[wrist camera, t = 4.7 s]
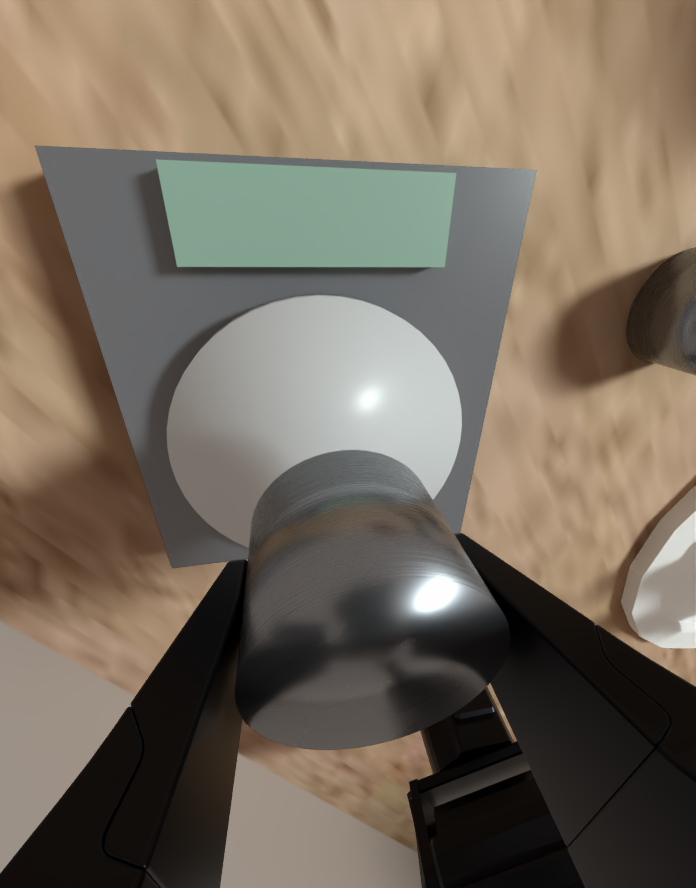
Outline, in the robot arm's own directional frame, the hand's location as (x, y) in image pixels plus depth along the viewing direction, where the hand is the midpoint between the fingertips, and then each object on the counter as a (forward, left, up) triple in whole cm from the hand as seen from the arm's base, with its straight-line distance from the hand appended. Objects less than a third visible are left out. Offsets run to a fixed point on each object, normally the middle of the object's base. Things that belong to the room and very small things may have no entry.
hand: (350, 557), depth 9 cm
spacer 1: (0, 0, -1) cm, 1 cm away
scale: (+2, 0, -8) cm, 8 cm away
